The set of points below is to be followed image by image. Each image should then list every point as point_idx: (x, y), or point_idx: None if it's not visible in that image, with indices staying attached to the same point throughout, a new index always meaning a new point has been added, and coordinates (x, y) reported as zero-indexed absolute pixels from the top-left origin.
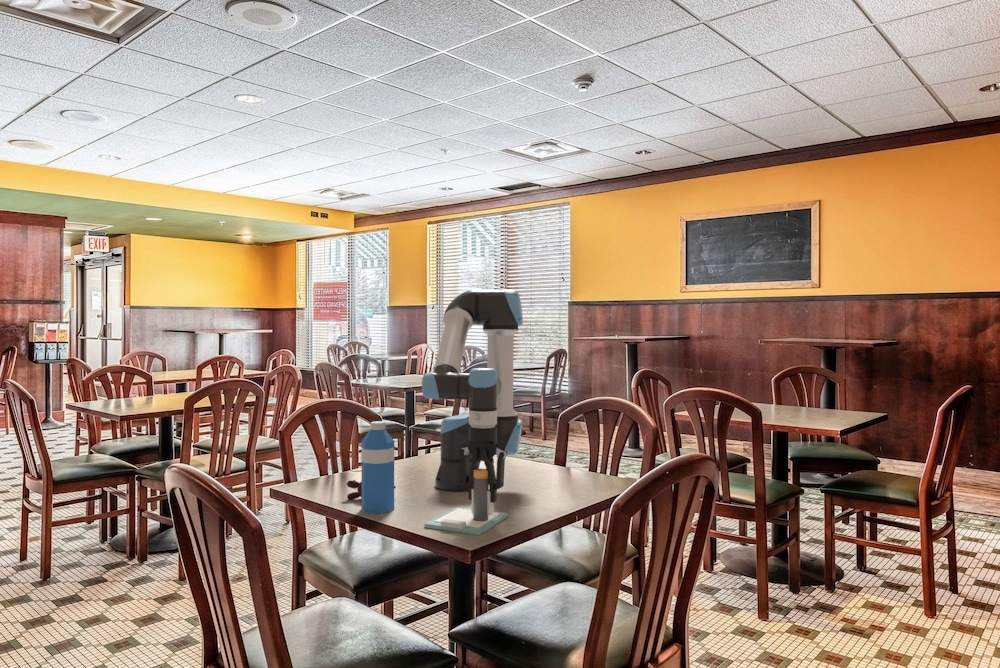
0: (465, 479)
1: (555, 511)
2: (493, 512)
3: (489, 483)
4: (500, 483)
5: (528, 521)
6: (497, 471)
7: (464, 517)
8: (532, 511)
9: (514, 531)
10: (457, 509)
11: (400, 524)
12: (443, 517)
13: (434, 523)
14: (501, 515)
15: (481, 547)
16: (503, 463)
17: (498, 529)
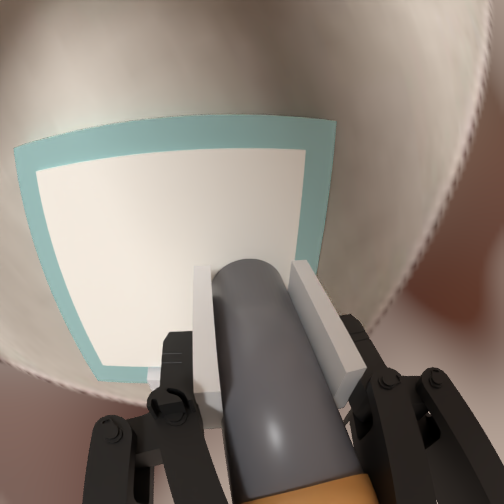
0: (150, 486)
1: (459, 11)
2: (307, 263)
3: (359, 448)
4: (429, 423)
5: (420, 163)
6: (441, 494)
7: (162, 298)
8: (397, 6)
9: (386, 292)
10: (47, 196)
11: (37, 364)
12: (93, 328)
13: (119, 374)
14: (318, 175)
15: None
16: (501, 501)
17: (334, 300)
